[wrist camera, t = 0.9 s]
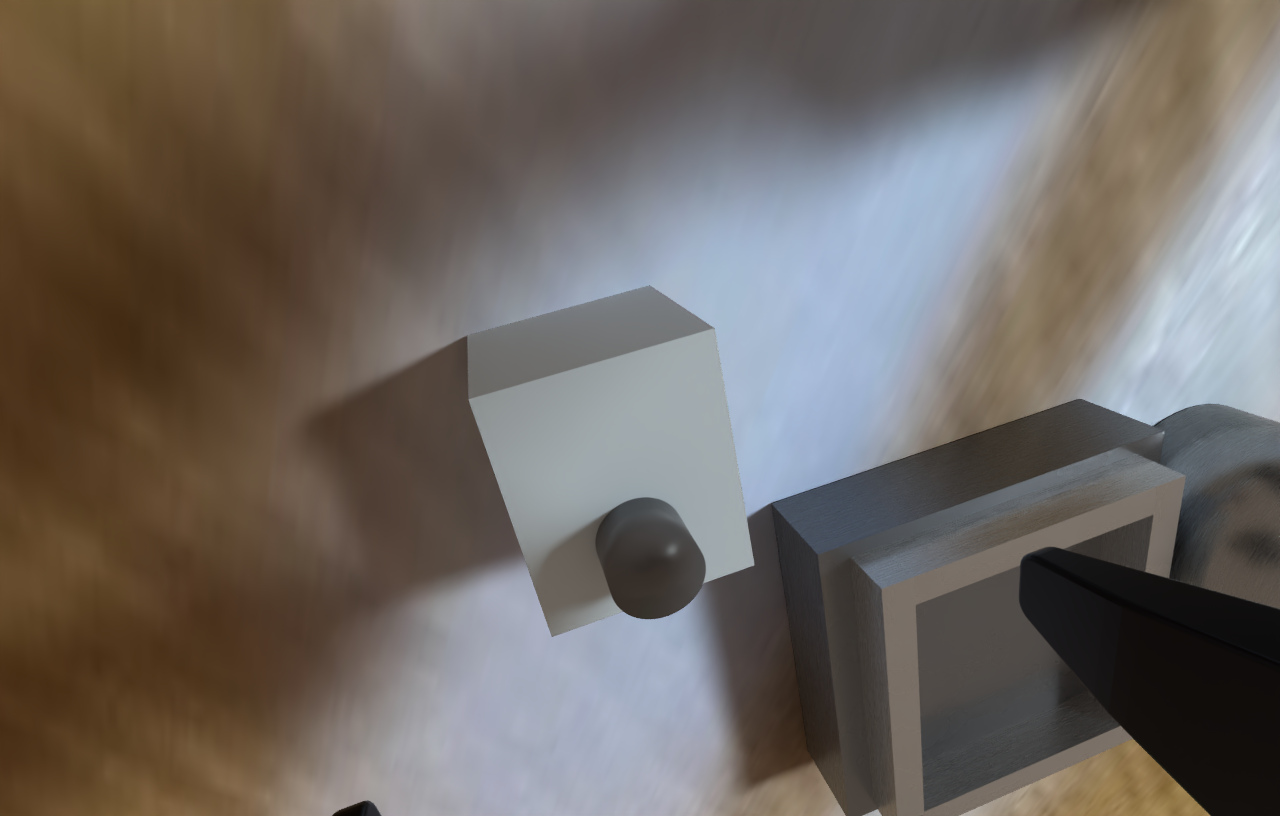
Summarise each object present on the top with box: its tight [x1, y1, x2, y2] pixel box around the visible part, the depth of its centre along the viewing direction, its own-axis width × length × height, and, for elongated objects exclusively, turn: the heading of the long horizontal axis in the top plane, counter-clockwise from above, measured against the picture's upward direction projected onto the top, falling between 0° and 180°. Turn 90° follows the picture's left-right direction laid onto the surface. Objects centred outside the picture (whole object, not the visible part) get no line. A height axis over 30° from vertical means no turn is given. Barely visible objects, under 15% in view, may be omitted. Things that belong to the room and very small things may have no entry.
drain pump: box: [467, 285, 754, 637], centre depth 15 cm, size 5×6×6 cm
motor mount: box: [772, 399, 1280, 816], centre depth 22 cm, size 21×12×6 cm, turn 103°
